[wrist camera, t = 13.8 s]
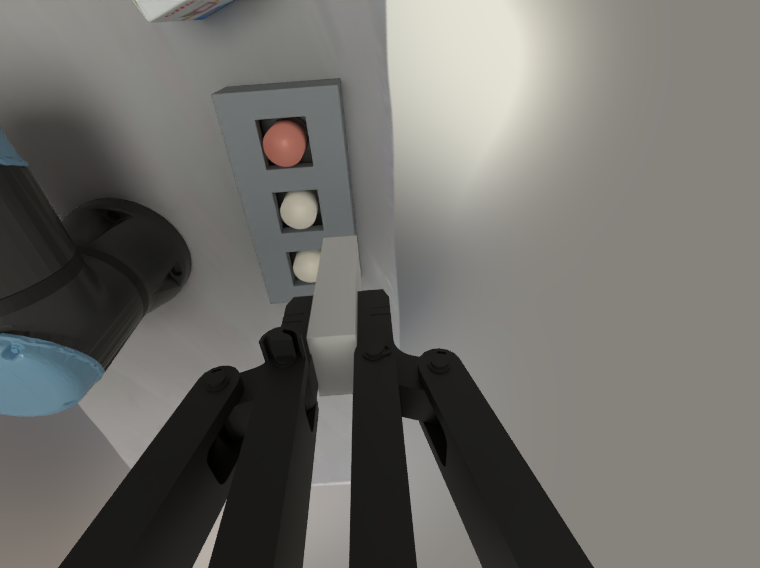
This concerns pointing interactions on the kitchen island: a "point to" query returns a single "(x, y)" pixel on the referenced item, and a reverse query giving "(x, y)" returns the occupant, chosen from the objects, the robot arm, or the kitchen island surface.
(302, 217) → the cream egg
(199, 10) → the ink box
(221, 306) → the kitchen island surface
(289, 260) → the grey socket block
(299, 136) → the red egg
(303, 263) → the ivory egg
